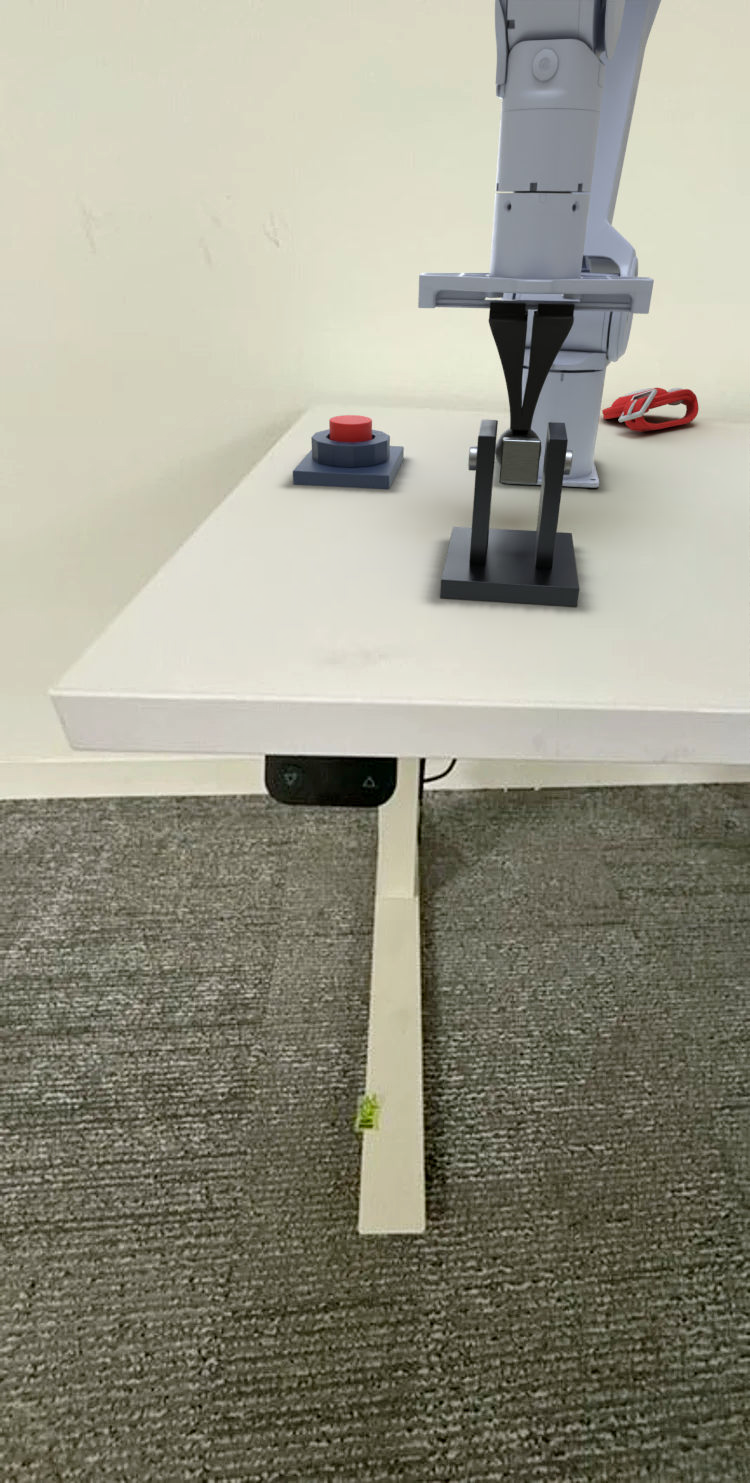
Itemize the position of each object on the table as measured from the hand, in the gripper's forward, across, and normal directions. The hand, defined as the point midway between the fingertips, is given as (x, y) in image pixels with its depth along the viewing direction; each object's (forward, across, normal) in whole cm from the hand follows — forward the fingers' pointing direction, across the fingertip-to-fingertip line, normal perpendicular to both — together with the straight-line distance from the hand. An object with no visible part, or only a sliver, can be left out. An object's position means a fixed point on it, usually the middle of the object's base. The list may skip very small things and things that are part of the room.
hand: (520, 427), depth 60 cm
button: (+4, -14, +12) cm, 19 cm away
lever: (+2, 0, -5) cm, 6 cm away
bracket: (+7, 0, -10) cm, 12 cm away
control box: (+7, -14, +12) cm, 20 cm away
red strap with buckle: (+7, +13, +36) cm, 39 cm away
